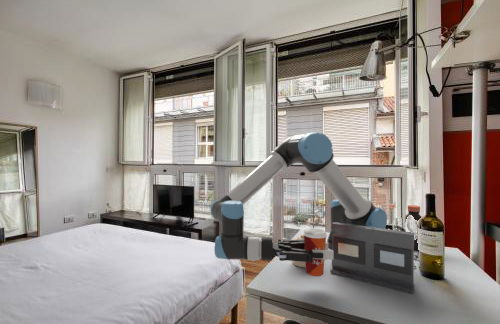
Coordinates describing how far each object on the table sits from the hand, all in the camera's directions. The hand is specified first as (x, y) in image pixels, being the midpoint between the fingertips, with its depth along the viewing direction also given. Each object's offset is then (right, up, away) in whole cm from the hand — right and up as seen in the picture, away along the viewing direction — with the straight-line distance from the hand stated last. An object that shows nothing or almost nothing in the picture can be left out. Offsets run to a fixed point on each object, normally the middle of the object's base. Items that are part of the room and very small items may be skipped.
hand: (330, 250), depth 84 cm
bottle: (+51, -12, +36) cm, 63 cm away
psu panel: (+17, -12, +7) cm, 22 cm away
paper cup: (-5, -8, +1) cm, 9 cm away
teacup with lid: (-4, -12, +21) cm, 25 cm away
